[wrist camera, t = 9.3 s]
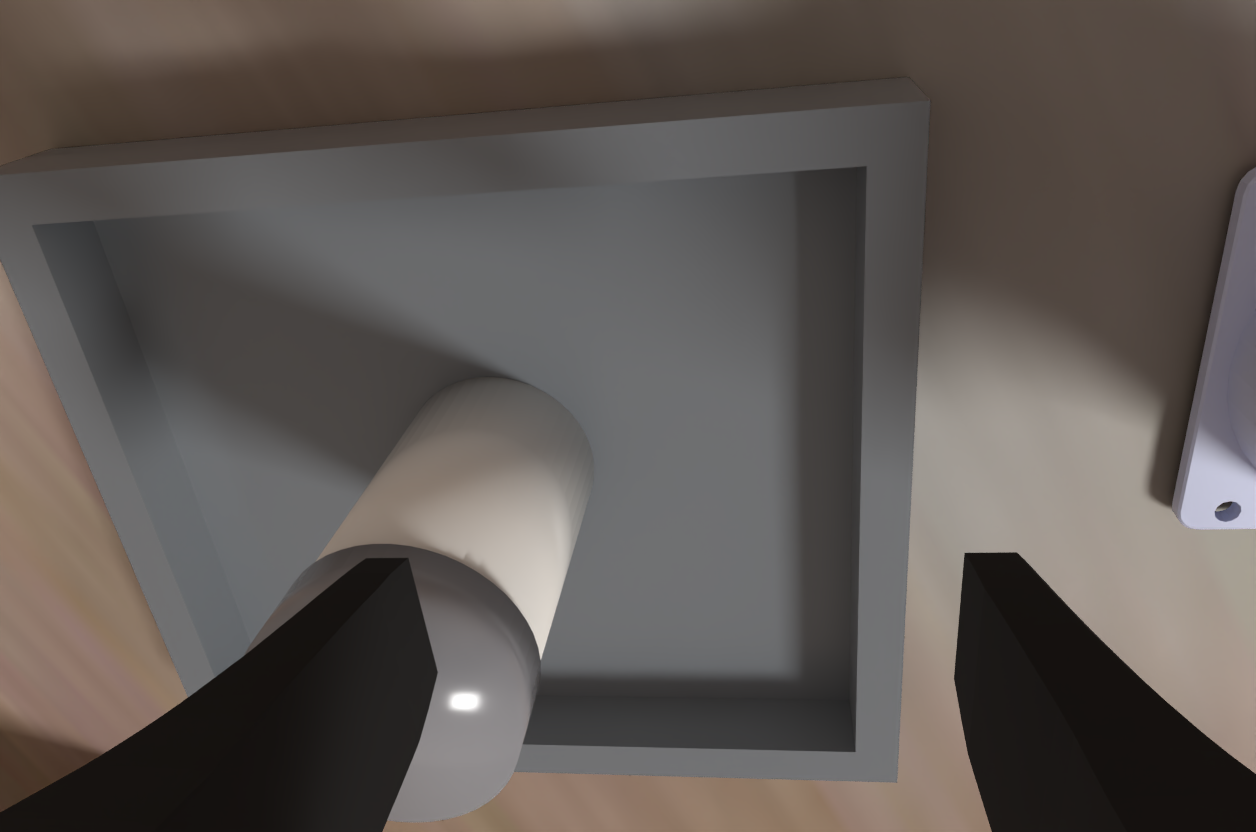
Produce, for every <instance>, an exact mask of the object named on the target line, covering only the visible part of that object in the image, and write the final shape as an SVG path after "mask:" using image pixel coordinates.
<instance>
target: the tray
mask: <svg viewBox="0 0 1256 832" xmlns="http://www.w3.org/2000/svg"><path fill="white" fill-rule="evenodd" d="M930 102H931V100H930V99H929V98H928V97H927V96H926V95H925V94H924V93H923V92H922V91H921V90H920V89H919V87H918V86H917V85H916V84H915V83H914V82H913V81H912V80H911V79H910V78H909V77H902V78H890V79H878V80H866V81H854V82H842V83H830V84H819V85H807V86H795V87H783V88H771V89H759V90H747V91H735V92H723V93H711V94H700V95H688V96H676V97H664V98H652V99H640V100H628V101H616V102H604V103H592V104H581V105H569V106H557V107H545V108H533V109H521V110H509V111H497V112H485V113H473V114H462V115H450V116H438V117H426V118H414V119H402V120H390V121H378V122H366V123H355V124H343V125H331V126H319V127H307V128H295V129H283V130H271V131H259V132H247V133H236V134H224V135H212V136H200V137H188V138H176V139H164V140H152V141H140V142H128V143H117V144H105V145H93V146H81V147H69V148H57V149H49V150H46V151H43V152H40V153H37V154H34V155H31V156H28V157H25V158H22V159H19V160H16V161H14V162H11V163H8V164H5V165H2V166H0V260H1V262H2V265H3V267H4V269H5V272H6V274H7V276H8V279H9V281H10V283H11V286H12V288H13V290H14V293H15V295H16V297H17V300H18V302H19V304H20V307H21V309H22V311H23V314H24V316H25V318H26V321H27V323H28V325H29V328H30V330H31V332H32V335H33V337H34V339H35V342H36V344H37V346H38V349H39V351H40V353H41V356H42V358H43V360H44V363H45V365H46V367H47V370H48V372H49V374H50V377H51V379H52V381H53V384H54V386H55V388H56V391H57V393H58V395H59V398H60V400H61V402H62V405H63V407H64V409H65V412H66V414H67V416H68V419H69V421H70V423H71V426H72V428H73V430H74V433H75V435H76V437H77V440H78V442H79V444H80V447H81V449H82V451H83V454H84V456H85V458H86V461H87V463H88V465H89V468H90V470H91V472H92V475H93V477H94V479H95V481H96V484H97V486H98V488H99V491H100V493H101V495H102V498H103V500H104V502H105V505H106V507H107V509H108V512H109V514H110V516H111V519H112V521H113V523H114V526H115V528H116V530H117V533H118V535H119V537H120V540H121V542H122V544H123V547H124V549H125V551H126V554H127V556H128V558H129V561H130V563H131V565H132V568H133V570H134V572H135V575H136V577H137V579H138V582H139V584H140V586H141V589H142V591H143V593H144V596H145V598H146V600H147V603H148V605H149V607H150V610H151V612H152V614H153V617H154V619H155V621H156V624H157V626H158V628H159V631H160V633H161V635H162V638H163V640H164V642H165V645H166V647H167V649H168V652H169V654H170V656H171V659H172V661H173V663H174V666H175V668H176V670H177V673H178V675H179V677H180V680H181V682H182V684H183V687H184V689H185V691H186V694H187V696H188V697H189V696H191V695H192V694H193V693H195V692H196V691H197V690H199V689H200V688H201V687H203V686H204V685H205V684H207V683H208V682H209V681H211V680H212V679H213V678H215V677H216V676H217V675H219V674H220V673H221V672H223V671H224V670H226V669H227V668H228V667H230V666H231V665H232V664H234V663H235V662H236V661H238V660H239V659H240V658H242V657H243V656H244V654H245V652H246V651H247V649H248V647H249V646H250V644H251V643H252V641H253V640H254V639H255V637H256V636H257V634H258V633H259V631H260V630H261V629H262V627H263V626H264V624H265V623H266V621H267V620H268V619H269V617H270V616H271V614H272V613H273V611H274V610H275V609H276V607H277V606H278V604H279V603H280V601H281V600H282V599H283V597H284V596H285V594H286V593H287V591H288V590H289V589H290V587H291V586H292V584H293V583H294V582H295V580H296V579H297V578H298V577H299V576H300V574H301V573H302V572H303V571H304V570H306V569H307V568H308V567H309V566H310V565H312V564H313V563H314V562H316V560H317V559H318V557H319V556H320V554H321V553H322V552H323V550H324V549H325V547H326V546H327V544H328V543H329V541H330V540H331V538H332V537H333V536H334V534H335V533H336V531H337V530H338V528H339V527H340V525H341V524H342V522H343V521H344V520H345V518H346V517H347V515H348V514H349V512H350V511H351V509H352V508H353V507H354V505H355V504H356V502H357V501H358V499H359V498H360V496H361V495H362V493H363V492H364V491H365V489H366V488H367V486H368V485H369V483H370V482H371V480H372V479H373V478H374V476H375V475H376V473H377V472H378V470H379V469H380V467H381V466H382V464H383V463H384V462H385V460H386V459H387V457H388V456H389V454H390V453H391V451H392V450H393V448H394V447H395V446H396V444H397V443H398V441H399V440H400V438H401V437H402V435H403V434H404V433H405V431H406V430H407V428H408V427H409V425H410V424H411V422H412V421H413V419H414V418H415V417H416V415H417V414H418V412H419V411H420V409H421V408H422V407H423V406H424V404H425V403H426V402H427V401H428V400H429V399H430V398H431V397H432V396H433V395H435V394H436V393H437V392H439V391H440V390H442V389H444V388H445V387H447V386H449V385H452V384H454V383H456V382H460V381H463V380H466V379H472V378H478V377H497V378H506V379H511V380H516V381H519V382H522V383H525V384H528V385H531V386H533V387H535V388H537V389H539V390H541V391H543V392H545V393H546V394H548V395H550V396H551V397H553V398H554V399H555V400H557V401H558V402H559V403H560V404H562V405H563V406H564V407H565V408H566V409H567V410H568V411H569V412H570V413H571V414H572V415H573V417H574V418H575V419H576V420H577V422H578V423H579V424H580V426H581V428H582V429H583V431H584V433H585V435H586V437H587V439H588V441H589V444H590V447H591V451H592V454H593V460H594V479H593V485H592V489H591V492H590V496H589V499H588V503H587V506H586V509H585V513H584V516H583V520H582V523H581V526H580V530H579V533H578V536H577V540H576V543H575V547H574V550H573V553H572V557H571V560H570V563H569V567H568V570H567V574H566V577H565V580H564V584H563V587H562V591H561V594H560V597H559V601H558V604H557V607H556V611H555V614H554V618H553V621H552V624H551V628H550V631H549V634H548V638H547V641H546V645H545V648H544V651H543V655H542V658H541V678H540V684H539V689H538V692H537V696H536V699H535V703H534V706H533V710H532V713H531V716H530V720H529V723H528V727H527V730H526V734H525V737H524V741H523V744H522V748H521V751H520V755H519V758H518V761H517V764H516V767H515V770H514V772H538V773H574V774H610V775H646V776H682V777H718V778H754V779H790V780H826V781H862V782H897V775H898V754H899V734H900V713H901V693H902V673H903V652H904V632H905V612H906V591H907V571H908V550H909V530H910V510H911V489H912V469H913V449H914V428H915V408H916V387H917V367H918V347H919V326H920V306H921V286H922V265H923V245H924V224H925V204H926V184H927V163H928V143H929V123H930Z"/></svg>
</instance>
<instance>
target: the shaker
mask: <svg viewBox="0 0 1256 832" xmlns="http://www.w3.org/2000/svg"><path fill="white" fill-rule="evenodd" d="M593 479H594V460H593V454H592V451H591V447H590V444H589V441H588V439H587V437H586V435H585V433H584V431H583V429H582V428H581V426H580V424H579V423H578V422H577V420H576V419H575V418H574V417H573V415H572V414H571V413H570V412H569V411H568V410H567V409H566V408H565V407H564V406H563V405H562V404H560V403H559V402H558V401H557V400H555V399H554V398H553V397H551V396H550V395H548V394H546V393H545V392H543V391H541V390H539V389H537V388H535V387H533V386H531V385H528V384H525V383H522V382H519V381H516V380H511V379H506V378H497V377H478V378H472V379H466V380H463V381H460V382H456V383H454V384H452V385H449V386H447V387H445V388H444V389H442V390H440V391H439V392H437V393H436V394H435V395H433V396H432V397H431V398H430V399H429V400H428V401H427V402H426V403H425V404H424V406H423V407H422V408H421V409H420V411H419V412H418V414H417V415H416V417H415V418H414V419H413V421H412V422H411V424H410V425H409V427H408V428H407V430H406V431H405V433H404V434H403V435H402V437H401V438H400V440H399V441H398V443H397V444H396V446H395V447H394V448H393V450H392V451H391V453H390V454H389V456H388V457H387V459H386V460H385V462H384V463H383V464H382V466H381V467H380V469H379V470H378V472H377V473H376V475H375V476H374V478H373V479H372V480H371V482H370V483H369V485H368V486H367V488H366V489H365V491H364V492H363V493H362V495H361V496H360V498H359V499H358V501H357V502H356V504H355V505H354V507H353V508H352V509H351V511H350V512H349V514H348V515H347V517H346V518H345V520H344V521H343V522H342V524H341V525H340V527H339V528H338V530H337V531H336V533H335V534H334V536H333V537H332V538H331V540H330V541H329V543H328V544H327V546H326V547H325V549H324V550H323V552H322V553H321V554H320V556H319V557H318V559H317V560H316V562H314V563H313V564H312V565H310V566H309V567H308V568H307V569H306V570H304V571H303V572H302V573H301V574H300V576H299V577H298V578H297V579H296V580H295V582H294V583H293V584H292V586H291V587H290V589H289V590H288V591H287V593H286V594H285V596H284V597H283V599H282V600H281V601H280V603H279V604H278V606H277V607H276V609H275V610H274V611H273V613H272V614H271V616H270V617H269V619H268V620H267V621H266V623H265V624H264V626H263V627H262V629H261V630H260V631H259V633H258V634H257V636H256V637H255V639H254V640H253V641H252V643H251V644H250V646H249V647H248V649H247V651H246V652H245V654H244V655H246V654H247V653H248V652H249V651H251V650H252V649H253V648H254V647H256V646H257V645H258V644H259V643H261V642H262V641H263V640H264V639H265V638H267V637H268V636H269V635H270V634H272V633H273V632H274V631H275V630H277V629H278V628H279V627H280V626H282V625H283V624H284V623H285V622H286V621H288V620H289V619H290V618H291V617H293V616H294V615H295V614H296V613H298V612H299V611H300V610H301V609H302V608H304V607H305V606H306V605H307V604H308V603H310V602H311V601H312V600H313V599H315V598H316V597H317V596H318V595H319V594H321V593H322V592H323V591H324V590H325V589H327V588H328V587H329V586H330V585H332V584H333V583H334V582H335V581H337V580H338V579H339V578H340V577H342V576H343V575H344V574H345V573H347V572H348V571H349V570H350V569H352V568H353V567H354V566H356V565H357V564H359V563H360V562H361V561H363V560H364V559H365V558H409V562H410V566H411V570H412V574H413V577H414V581H415V585H416V589H417V593H418V597H419V601H420V605H421V609H422V612H423V616H424V620H425V624H426V628H427V632H428V636H429V640H430V644H431V647H432V651H433V655H434V659H435V663H436V667H437V671H438V674H437V678H436V682H435V686H434V690H433V694H432V698H431V702H430V706H429V710H428V713H427V717H426V720H425V724H424V727H423V731H422V734H421V738H420V741H419V744H418V747H417V749H416V752H415V754H414V757H413V759H412V762H411V764H410V766H409V769H408V771H407V774H406V776H405V779H404V781H403V783H402V786H401V788H400V791H399V793H398V796H397V798H396V800H395V803H394V805H393V807H392V810H391V812H390V815H389V817H388V819H387V820H389V821H396V822H432V821H439V820H445V819H450V818H453V817H457V816H461V815H464V814H466V813H468V812H471V811H473V810H476V809H477V808H479V807H481V806H482V805H484V804H486V803H488V802H489V801H490V800H491V799H493V798H494V797H495V796H496V795H497V794H498V793H499V792H500V791H501V790H502V789H503V788H504V787H505V785H506V784H507V783H508V781H509V779H510V778H511V776H512V774H513V772H514V770H515V767H516V764H517V761H518V758H519V755H520V751H521V748H522V744H523V741H524V737H525V734H526V730H527V727H528V723H529V720H530V716H531V713H532V710H533V706H534V703H535V699H536V696H537V692H538V689H539V684H540V678H541V658H542V655H543V651H544V648H545V645H546V641H547V638H548V634H549V631H550V628H551V624H552V621H553V618H554V614H555V611H556V607H557V604H558V601H559V597H560V594H561V591H562V587H563V584H564V580H565V577H566V574H567V570H568V567H569V563H570V560H571V557H572V553H573V550H574V547H575V543H576V540H577V536H578V533H579V530H580V526H581V523H582V520H583V516H584V513H585V509H586V506H587V503H588V499H589V496H590V492H591V489H592V485H593Z"/></svg>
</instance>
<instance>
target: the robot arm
mask: <svg viewBox="0 0 1256 832" xmlns="http://www.w3.org/2000/svg"><path fill="white" fill-rule="evenodd" d="M1229 501H1232V504H1231V506H1230V507H1228V508H1227V509H1225V510H1223V511H1218V512H1217V511H1215V510H1216V508H1217V507H1218V506H1219V505H1221V504H1222V503H1224V502H1229ZM1172 511H1173V512H1174V514H1175V515H1176V517H1177V518H1178V519H1179V521H1180V522H1181V524H1182V525H1184V526H1186V527H1188V528H1191V529H1256V167H1255V168H1253V169H1252V170H1250V171H1248V173H1247V174H1246V175H1245V176H1244V177H1243V178H1242V179H1241V180H1240V182H1239V185H1238V187H1237V190H1236V193H1235V198H1234V203H1233V208H1232V213H1231V217H1230V222H1229V227H1228V232H1227V237H1226V242H1225V247H1224V252H1223V257H1222V262H1221V266H1220V271H1219V276H1218V281H1217V286H1216V291H1215V296H1214V301H1213V306H1212V311H1211V315H1210V320H1209V325H1208V330H1207V335H1206V340H1205V345H1204V350H1203V355H1202V360H1201V364H1200V369H1199V374H1198V379H1197V384H1196V389H1195V394H1194V399H1193V404H1192V409H1191V413H1190V418H1189V423H1188V428H1187V433H1186V438H1185V443H1184V448H1183V453H1182V457H1181V462H1180V467H1179V472H1178V477H1177V482H1176V487H1175V492H1174V497H1173V502H1172ZM437 674H438V671H437V667H436V663H435V659H434V655H433V651H432V647H431V644H430V640H429V636H428V632H427V628H426V624H425V620H424V616H423V612H422V609H421V605H420V601H419V597H418V593H417V589H416V585H415V581H414V577H413V574H412V570H411V566H410V562H409V558H365V559H364V560H363V561H361V562H360V563H359V564H357V565H356V566H354V567H353V568H352V569H350V570H349V571H348V572H347V573H345V574H344V575H343V576H342V577H340V578H339V579H338V580H337V581H335V582H334V583H333V584H332V585H330V586H329V587H328V588H327V589H325V590H324V591H323V592H322V593H321V594H319V595H318V596H317V597H316V598H315V599H313V600H312V601H311V602H310V603H308V604H307V605H306V606H305V607H304V608H302V609H301V610H300V611H299V612H298V613H296V614H295V615H294V616H293V617H291V618H290V619H289V620H288V621H286V622H285V623H284V624H283V625H282V626H280V627H279V628H278V629H277V630H275V631H274V632H273V633H272V634H270V635H269V636H268V637H267V638H265V639H264V640H263V641H262V642H261V643H259V644H258V645H257V646H256V647H254V648H253V649H252V650H251V651H249V652H248V653H247V654H246V655H244V656H243V657H242V658H240V659H239V660H238V661H236V662H235V663H234V664H232V665H231V666H230V667H228V668H227V669H226V670H224V671H223V672H221V673H220V674H219V675H217V676H216V677H215V678H213V679H212V680H211V681H209V682H208V683H207V684H205V685H204V686H203V687H201V688H200V689H199V690H197V691H196V692H195V693H193V694H192V695H191V696H189V697H188V698H187V699H185V700H184V701H183V702H181V703H180V704H179V705H177V706H176V707H174V708H173V709H171V710H170V711H169V712H167V713H166V714H164V715H163V716H161V717H160V718H158V719H157V720H155V721H154V722H152V723H151V724H149V725H148V726H146V727H145V728H143V729H142V730H140V731H139V732H137V733H136V734H134V735H133V736H131V737H129V738H128V739H126V740H125V741H123V742H122V743H120V744H118V745H117V746H115V747H114V748H112V749H111V750H109V751H107V752H106V753H104V754H103V755H101V756H99V757H98V758H96V759H94V760H93V761H91V762H89V763H88V764H86V765H85V766H83V767H81V768H79V769H77V770H76V771H74V772H72V773H70V774H68V775H67V776H65V777H63V778H61V779H60V780H58V781H56V782H54V783H52V784H51V785H49V786H47V787H45V788H43V789H42V790H40V791H38V792H36V793H35V794H33V795H31V796H29V797H27V798H26V799H24V800H22V801H20V802H18V803H17V804H15V805H13V806H11V807H10V808H8V809H6V810H4V811H2V812H0V832H382V831H383V829H384V826H385V824H386V822H387V819H388V817H389V815H390V812H391V810H392V807H393V805H394V803H395V800H396V798H397V796H398V793H399V791H400V788H401V786H402V783H403V781H404V779H405V776H406V774H407V771H408V769H409V766H410V764H411V762H412V759H413V757H414V754H415V752H416V749H417V747H418V744H419V741H420V738H421V734H422V731H423V727H424V724H425V720H426V717H427V713H428V710H429V706H430V702H431V698H432V694H433V690H434V686H435V682H436V678H437ZM954 680H955V686H956V691H957V697H958V703H959V708H960V714H961V720H962V725H963V730H964V735H965V741H966V746H967V751H968V755H969V759H970V762H971V765H972V769H973V772H974V775H975V779H976V782H977V785H978V788H979V792H980V795H981V798H982V801H983V804H984V808H985V811H986V814H987V817H988V821H989V824H990V827H991V830H992V832H1256V774H1255V773H1254V772H1252V771H1251V770H1250V769H1248V768H1247V767H1246V766H1244V765H1243V764H1242V763H1240V762H1239V761H1238V760H1236V759H1235V758H1234V757H1232V756H1231V755H1230V754H1228V753H1227V752H1226V751H1225V750H1223V749H1222V748H1221V747H1220V746H1218V745H1217V744H1216V743H1215V742H1213V741H1212V740H1211V739H1210V738H1208V737H1207V736H1206V735H1205V734H1203V733H1202V732H1201V731H1200V730H1199V729H1197V728H1196V727H1195V726H1194V725H1193V724H1192V723H1190V722H1189V721H1188V720H1187V719H1186V718H1185V717H1183V716H1182V715H1181V714H1180V713H1179V712H1178V711H1177V710H1175V709H1174V708H1173V707H1172V706H1171V705H1170V704H1168V703H1167V702H1166V701H1165V700H1164V699H1163V698H1162V697H1161V696H1159V695H1158V694H1157V693H1156V692H1155V691H1154V690H1153V689H1152V688H1151V687H1150V686H1149V685H1147V684H1146V683H1145V682H1144V681H1143V680H1142V679H1141V678H1140V677H1139V676H1138V675H1137V674H1136V673H1135V672H1134V671H1133V670H1132V669H1131V668H1130V667H1128V666H1127V665H1126V664H1125V663H1124V662H1123V661H1122V660H1121V659H1120V658H1119V657H1118V656H1117V655H1116V654H1115V653H1114V652H1113V651H1112V650H1111V649H1110V648H1109V647H1108V646H1107V645H1106V644H1105V643H1104V642H1103V641H1102V640H1101V639H1100V638H1099V637H1098V636H1097V635H1096V634H1095V633H1094V632H1093V631H1092V630H1091V629H1090V628H1089V627H1088V626H1087V625H1086V624H1085V623H1084V622H1083V621H1082V620H1081V619H1080V618H1079V617H1078V616H1077V615H1076V614H1075V613H1074V612H1073V611H1072V610H1071V609H1070V608H1069V607H1068V606H1067V605H1066V604H1065V602H1064V601H1063V600H1062V599H1061V598H1060V597H1059V596H1058V595H1057V594H1056V593H1055V592H1054V591H1053V590H1052V589H1051V588H1050V586H1049V585H1048V584H1047V583H1046V582H1045V581H1044V580H1043V579H1042V578H1041V577H1040V576H1039V575H1038V574H1037V573H1036V571H1035V570H1034V569H1033V568H1032V567H1031V566H1030V565H1029V564H1028V563H1027V562H1026V561H1025V560H1024V559H1023V558H1022V557H1021V556H1020V555H1019V554H1018V553H965V555H964V567H963V579H962V591H961V603H960V615H959V627H958V639H957V651H956V663H955V675H954Z"/></svg>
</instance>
